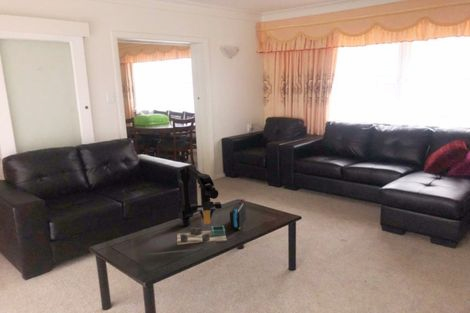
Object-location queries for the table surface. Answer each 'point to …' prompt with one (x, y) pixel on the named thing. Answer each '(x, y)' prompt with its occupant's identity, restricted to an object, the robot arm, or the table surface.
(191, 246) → the table surface
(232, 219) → the game console
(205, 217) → the plug block
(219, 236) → the board
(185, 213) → the robot arm
